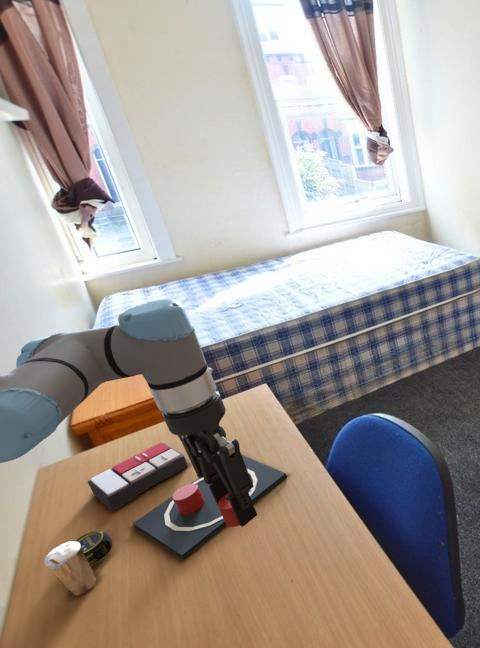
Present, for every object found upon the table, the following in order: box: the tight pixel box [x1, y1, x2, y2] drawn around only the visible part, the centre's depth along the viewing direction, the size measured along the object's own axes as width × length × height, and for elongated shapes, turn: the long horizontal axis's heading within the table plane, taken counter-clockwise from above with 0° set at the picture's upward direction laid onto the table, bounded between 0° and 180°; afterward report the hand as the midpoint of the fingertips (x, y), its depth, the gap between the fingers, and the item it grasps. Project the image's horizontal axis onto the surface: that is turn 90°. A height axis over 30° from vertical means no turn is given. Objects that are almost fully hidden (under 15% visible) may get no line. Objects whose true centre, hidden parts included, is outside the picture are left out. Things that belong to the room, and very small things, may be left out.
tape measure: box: [73, 529, 114, 567], centre depth 86 cm, size 7×7×4 cm
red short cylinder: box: [218, 493, 241, 528], centre depth 79 cm, size 4×4×4 cm
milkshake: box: [43, 541, 97, 596], centre depth 79 cm, size 4×5×10 cm
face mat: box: [132, 454, 287, 560], centre depth 97 cm, size 22×18×1 cm
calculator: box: [87, 442, 189, 512], centre depth 105 cm, size 11×4×15 cm
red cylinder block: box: [171, 483, 205, 515], centre depth 94 cm, size 4×4×4 cm
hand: (239, 515), depth 79 cm, fingers closed on red short cylinder, 4 cm apart
